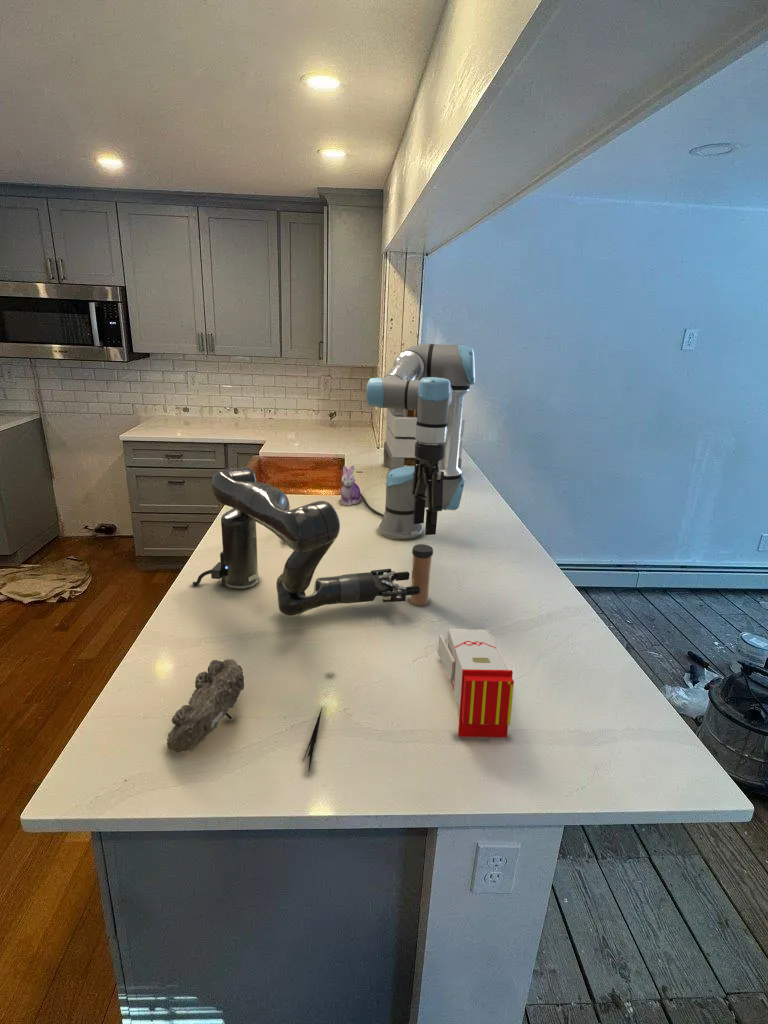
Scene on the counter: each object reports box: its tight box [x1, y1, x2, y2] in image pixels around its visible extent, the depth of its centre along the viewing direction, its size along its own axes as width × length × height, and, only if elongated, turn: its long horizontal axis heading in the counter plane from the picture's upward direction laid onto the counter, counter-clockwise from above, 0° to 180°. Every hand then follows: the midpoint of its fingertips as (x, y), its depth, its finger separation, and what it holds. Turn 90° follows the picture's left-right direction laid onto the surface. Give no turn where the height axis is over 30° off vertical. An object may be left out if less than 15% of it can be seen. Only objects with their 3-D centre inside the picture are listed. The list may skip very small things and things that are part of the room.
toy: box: [437, 628, 515, 738], centre depth 117 cm, size 12×13×30 cm
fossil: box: [166, 658, 245, 754], centre depth 106 cm, size 22×10×15 cm
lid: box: [411, 543, 434, 558], centre depth 149 cm, size 5×5×2 cm
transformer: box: [383, 408, 465, 472], centre depth 268 cm, size 34×33×41 cm
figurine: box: [339, 464, 362, 506], centre depth 227 cm, size 9×10×15 cm
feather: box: [301, 673, 332, 771], centre depth 108 cm, size 2×28×2 cm
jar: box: [409, 554, 433, 607], centre depth 152 cm, size 5×5×15 cm
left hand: (414, 582), depth 152 cm, fingers open, 8 cm apart
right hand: (424, 528), depth 147 cm, fingers open, 7 cm apart
